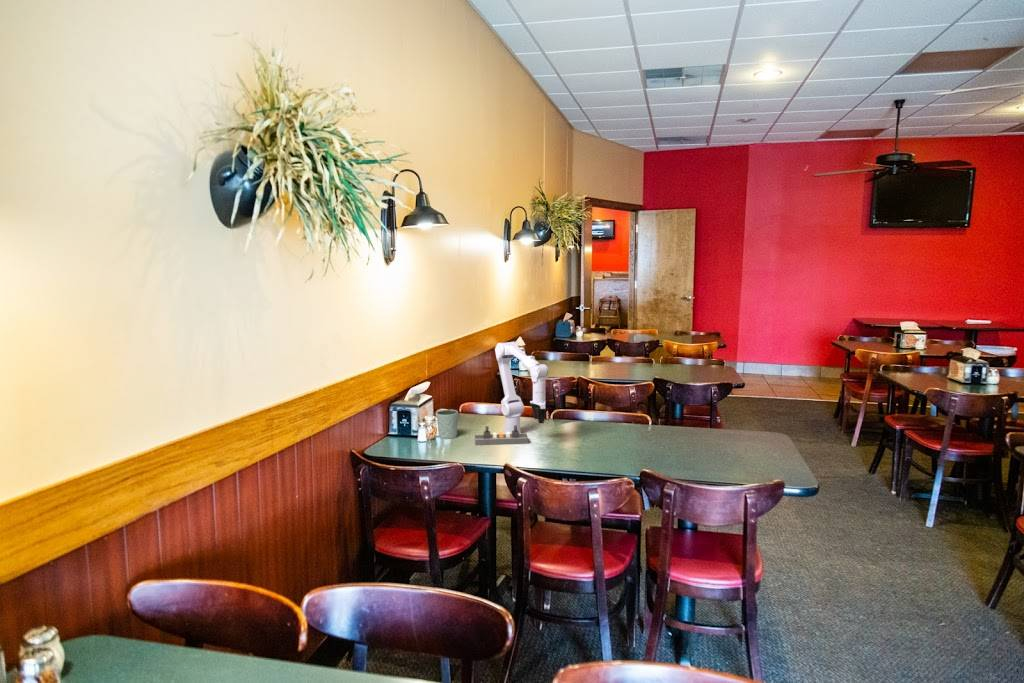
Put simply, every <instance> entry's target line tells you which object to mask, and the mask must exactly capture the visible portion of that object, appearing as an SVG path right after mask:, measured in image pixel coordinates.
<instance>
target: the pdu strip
mask: <svg viewBox="0 0 1024 683" xmlns="http://www.w3.org/2000/svg"><path fill="white" fill-rule="evenodd" d="M525 444H526V445H527V444H529V436H528V435H527V433H521V434H519V437H512V434H510V437H507V438H506V434H504V433H503V438H500V437H499V433H497V438H493V433H492V434H491V438H484V434H474V445H475V446H493V445H525Z"/></svg>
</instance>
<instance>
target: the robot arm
mask: <svg viewBox="0 0 1024 683" xmlns="http://www.w3.org/2000/svg"><path fill="white" fill-rule="evenodd" d="M494 352H495V357H496V361H497V364H498V369H499V374H500V380H501V384H502V388H503V394H504V397H503V398H502V399H501V401H500V403H501V408H500V409H501V410H500V411H501V414H502V415H503V417H504V429H503V434H506V432H509V433H510V434H512V431H514V426H515V425H516V426H517V430H518V431H519V434H522V431H521V416H522V414H523V413H524V411H525V406H524V403H523V400H522V398H521V396H519V395H518V394H517V393H516V388H515V384H514V380H513V379H514V378H513V374H512V369H511V364H510V362H511V360H513V359H514V358H516V359H518V360H519V361H521V364H522V365H521V366H523V367H524V368H525V369H526V370H527V371H528V372H529V374H530V378H531V382H532V400H530V401H529V403H530V404H529V405H530V407H531V409H532V414H533V417H534V419H535V420H537V422H538V424H544V423H545V419H546V415H547V412H548V411H549V408H548V407H546V405H547V403H546V402H547V400H546V382H547V381H546V377H547V376H548V375H549V368H548V366H547V365H546V364H545V363H543V364H542V363H540V362H539V361H537V360H536V358H534V356H533V355H527V354H526V353H524V351H523V350H522V349H521V348H520V345H519V343H517V342H516V341H510V342H508V341H507V342H498V343H497V344H496V345H495V348H494Z"/></svg>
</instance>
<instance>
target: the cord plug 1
mask: <svg viewBox="0 0 1024 683" xmlns="http://www.w3.org/2000/svg"><path fill="white" fill-rule="evenodd" d="M489 427H490V426H487V425H486V426H485V431H483V435H484V438H491V435H492V434H491V431H489Z"/></svg>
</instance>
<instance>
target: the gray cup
mask: <svg viewBox="0 0 1024 683" xmlns="http://www.w3.org/2000/svg"><path fill="white" fill-rule="evenodd" d="M435 415H436V420H437V433H438V434H437V435H438V438H439V439H440V440H454V439H456V438H457V437H458V419H459V418H458V417H459V411H458V410H457V409H441V410H437V411H436V414H435Z"/></svg>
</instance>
